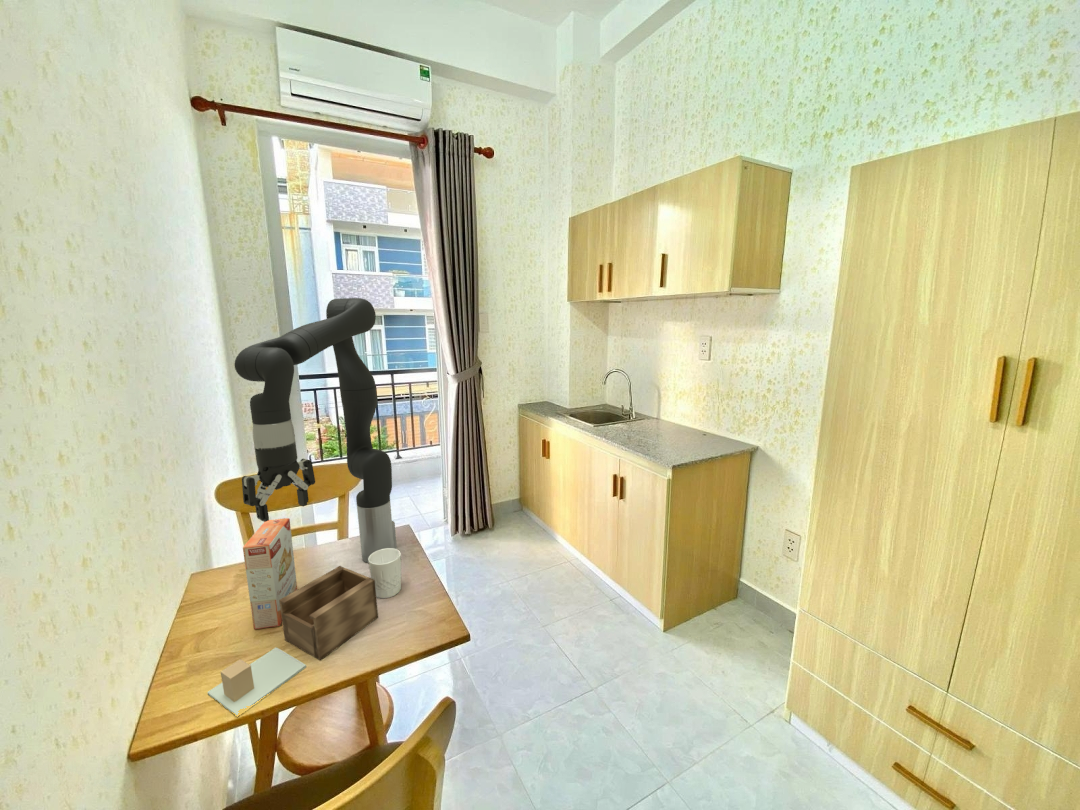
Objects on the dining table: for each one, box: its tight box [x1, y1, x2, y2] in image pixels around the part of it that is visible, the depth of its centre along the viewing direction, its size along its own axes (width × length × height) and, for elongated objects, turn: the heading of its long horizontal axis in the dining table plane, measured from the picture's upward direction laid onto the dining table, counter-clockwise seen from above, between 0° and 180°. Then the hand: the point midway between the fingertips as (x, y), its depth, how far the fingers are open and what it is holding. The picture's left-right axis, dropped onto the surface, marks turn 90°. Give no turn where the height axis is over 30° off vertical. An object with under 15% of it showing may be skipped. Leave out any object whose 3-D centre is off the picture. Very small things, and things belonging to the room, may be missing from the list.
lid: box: [207, 647, 307, 715], centre depth 85 cm, size 13×10×6 cm
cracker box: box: [242, 517, 298, 630], centre depth 104 cm, size 14×6×21 cm, turn 14°
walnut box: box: [279, 565, 379, 661], centre depth 98 cm, size 15×12×10 cm
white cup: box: [368, 548, 402, 599], centre depth 112 cm, size 8×8×10 cm
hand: (284, 512), depth 95 cm, fingers open, 8 cm apart
